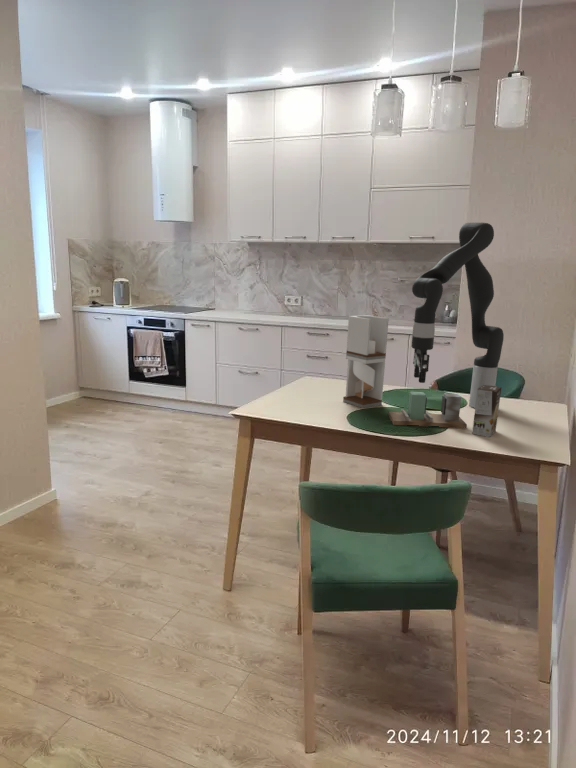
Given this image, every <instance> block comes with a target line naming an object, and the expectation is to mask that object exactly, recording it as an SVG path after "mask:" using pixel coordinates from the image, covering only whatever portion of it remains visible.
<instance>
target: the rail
mask: <svg viewBox="0 0 576 768" xmlns="http://www.w3.org/2000/svg"><path fill="white" fill-rule="evenodd" d="M461 402H462V396H461V395H460V394H458V393H449V392H447V393H445V392H444V393H443V395H442V398H441V407H440V413H430V412H429V411H428V410H427V409H426V413H425V414H424V419H410V418H409V416H408V412H407V411H406V410H405V409H404V408H401V409H400V411H399V412H397V411H388V415H387V416H388V418H389V420H390V422H391V421H392V422H391V424H392V425H393V426H407V425H419V426H418V427H428V426H439V427H438V428H453V429H455V428H456V429H467V425H468V424H467V423H466V422H465V421H464V419H462V417H460V413H461V412H460V410H461Z"/></svg>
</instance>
